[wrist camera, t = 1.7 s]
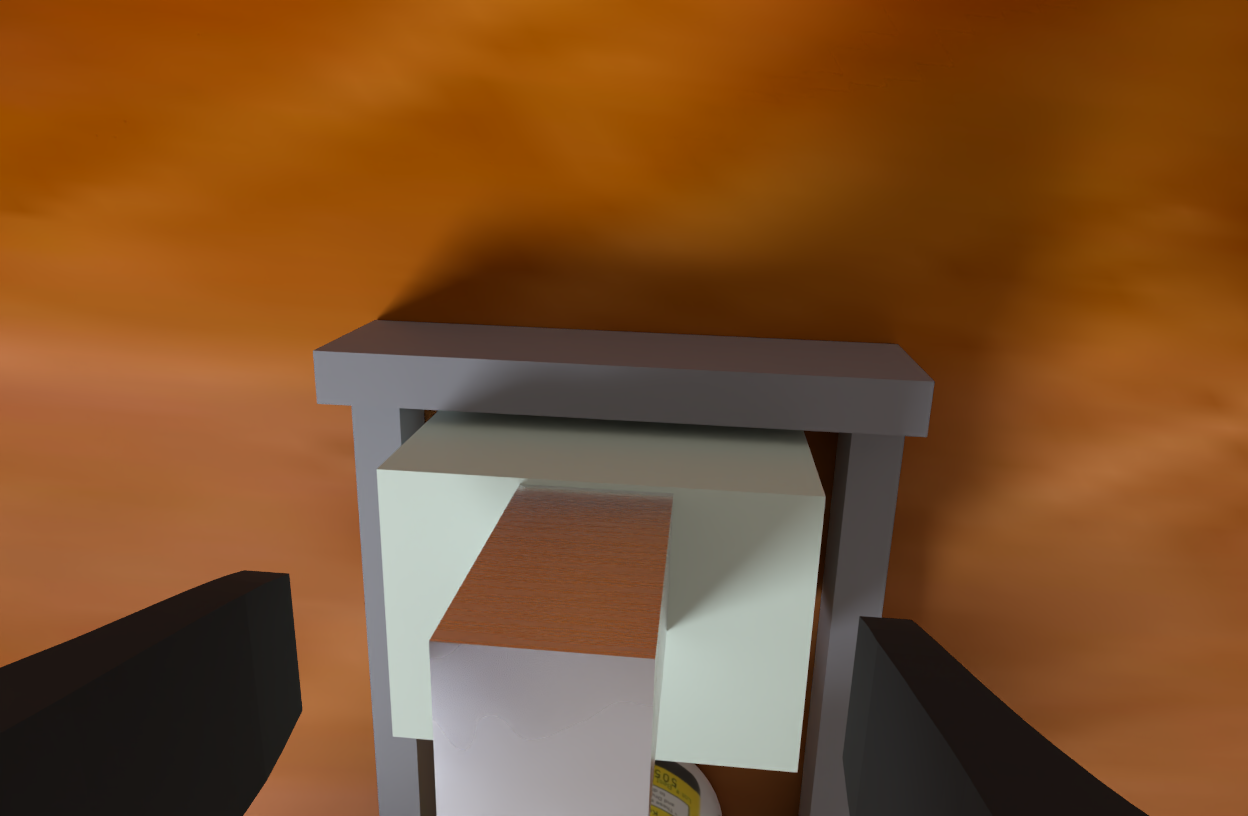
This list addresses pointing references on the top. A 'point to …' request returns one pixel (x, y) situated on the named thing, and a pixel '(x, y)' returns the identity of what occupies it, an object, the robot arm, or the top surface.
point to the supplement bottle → (682, 791)
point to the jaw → (596, 604)
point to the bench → (649, 392)
